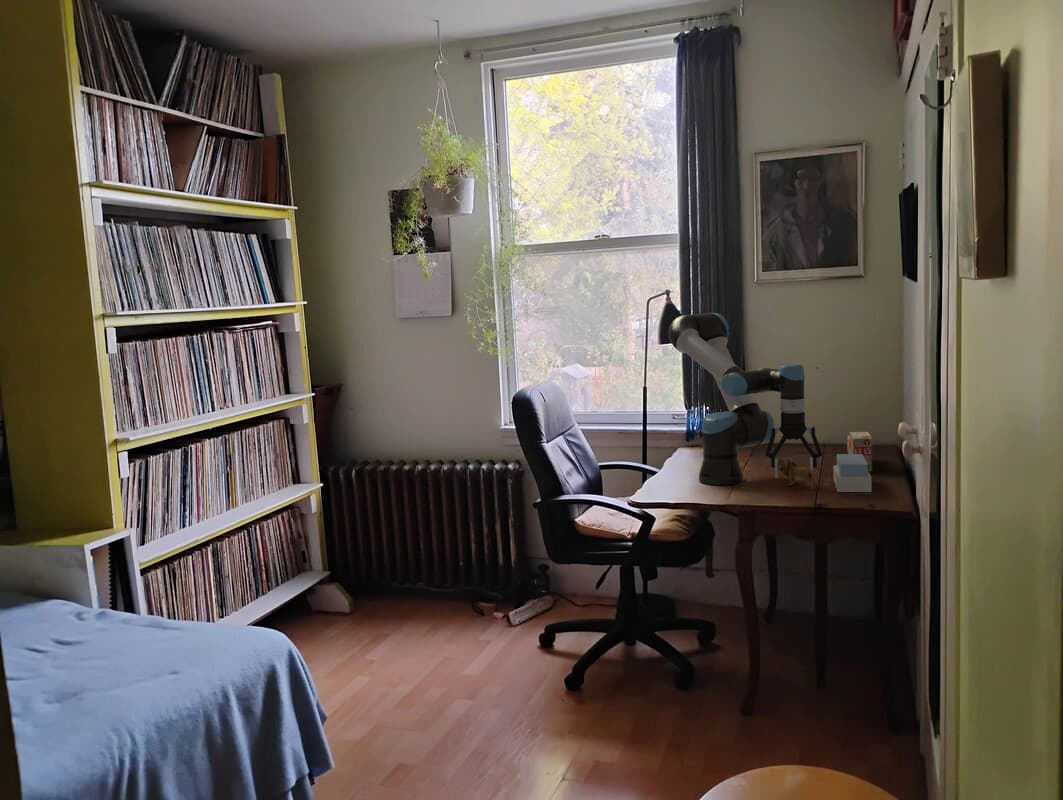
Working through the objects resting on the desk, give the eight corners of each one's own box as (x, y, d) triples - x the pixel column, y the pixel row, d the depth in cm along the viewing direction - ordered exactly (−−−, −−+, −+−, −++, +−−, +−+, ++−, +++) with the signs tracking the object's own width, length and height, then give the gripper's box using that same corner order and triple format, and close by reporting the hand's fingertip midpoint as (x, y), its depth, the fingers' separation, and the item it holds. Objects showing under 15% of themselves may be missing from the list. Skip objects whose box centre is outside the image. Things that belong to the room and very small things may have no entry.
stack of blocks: (847, 459, 315) (846, 427, 314) (865, 459, 314) (864, 427, 312) (853, 472, 295) (853, 437, 293) (872, 472, 293) (872, 437, 292)
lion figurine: (774, 485, 283) (774, 458, 282) (782, 482, 287) (782, 456, 285) (816, 490, 273) (816, 463, 271) (824, 487, 276) (823, 460, 275)
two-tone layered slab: (837, 492, 268) (837, 465, 267) (833, 479, 286) (833, 453, 284) (871, 493, 266) (871, 465, 264) (865, 479, 283) (865, 453, 282)
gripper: (756, 413, 277) (757, 479, 280) (830, 412, 271) (831, 480, 273) (756, 410, 284) (758, 474, 287) (829, 409, 278) (829, 474, 281)
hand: (793, 477), depth 280 cm, fingers closed on lion figurine, 10 cm apart
